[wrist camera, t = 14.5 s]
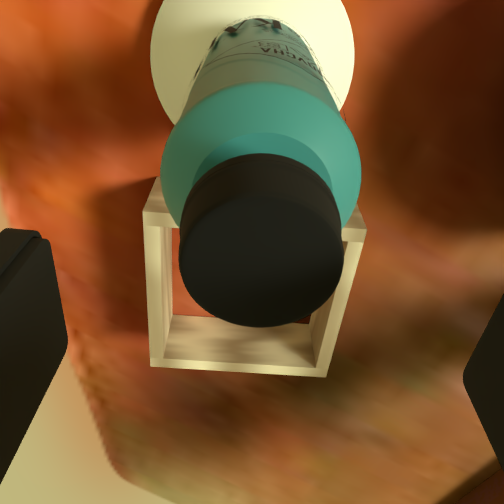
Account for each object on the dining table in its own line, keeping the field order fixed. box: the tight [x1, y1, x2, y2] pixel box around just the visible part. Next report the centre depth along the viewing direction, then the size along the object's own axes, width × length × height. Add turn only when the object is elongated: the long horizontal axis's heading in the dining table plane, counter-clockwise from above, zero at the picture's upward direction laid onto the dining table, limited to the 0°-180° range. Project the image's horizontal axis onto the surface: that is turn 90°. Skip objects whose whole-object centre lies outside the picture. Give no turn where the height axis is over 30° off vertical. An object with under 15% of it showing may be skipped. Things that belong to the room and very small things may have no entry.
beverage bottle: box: [160, 15, 361, 328], centre depth 18 cm, size 6×7×20 cm
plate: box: [150, 0, 354, 125], centre depth 27 cm, size 12×12×1 cm
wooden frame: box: [143, 177, 367, 377], centre depth 34 cm, size 14×14×5 cm
